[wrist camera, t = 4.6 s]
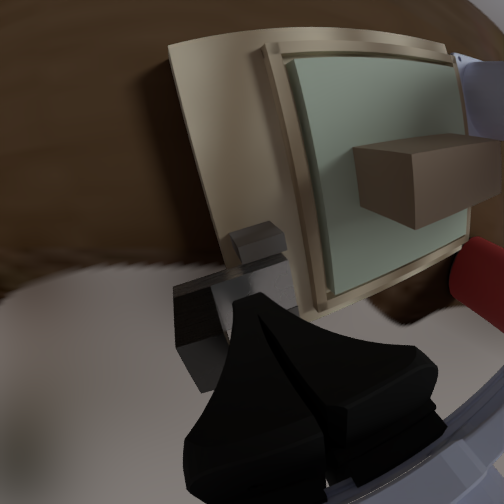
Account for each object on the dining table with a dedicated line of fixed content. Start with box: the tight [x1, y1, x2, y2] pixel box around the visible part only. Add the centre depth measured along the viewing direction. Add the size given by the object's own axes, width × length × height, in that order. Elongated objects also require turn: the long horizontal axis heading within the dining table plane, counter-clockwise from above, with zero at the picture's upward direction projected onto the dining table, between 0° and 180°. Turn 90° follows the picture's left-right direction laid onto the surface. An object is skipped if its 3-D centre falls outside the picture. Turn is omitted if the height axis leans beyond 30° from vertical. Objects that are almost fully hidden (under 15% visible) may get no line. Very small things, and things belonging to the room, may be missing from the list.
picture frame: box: [168, 27, 471, 322], centre depth 14 cm, size 18×16×4 cm
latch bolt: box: [173, 252, 297, 393], centre depth 11 cm, size 5×2×4 cm, turn 103°
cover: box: [286, 57, 501, 295], centre depth 12 cm, size 12×12×5 cm
